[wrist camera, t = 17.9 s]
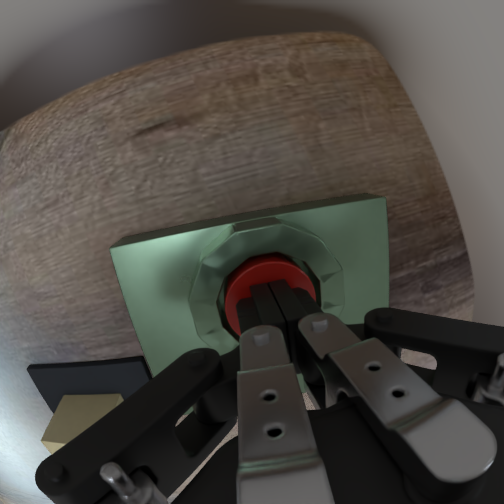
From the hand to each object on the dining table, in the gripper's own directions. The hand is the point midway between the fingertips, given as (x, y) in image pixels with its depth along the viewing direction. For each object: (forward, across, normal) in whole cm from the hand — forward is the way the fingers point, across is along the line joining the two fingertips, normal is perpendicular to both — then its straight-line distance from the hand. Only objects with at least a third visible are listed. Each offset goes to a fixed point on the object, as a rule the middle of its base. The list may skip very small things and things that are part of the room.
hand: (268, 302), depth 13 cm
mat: (+4, +13, +9) cm, 16 cm away
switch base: (+4, 0, +2) cm, 5 cm away
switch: (+2, 0, 0) cm, 2 cm away
